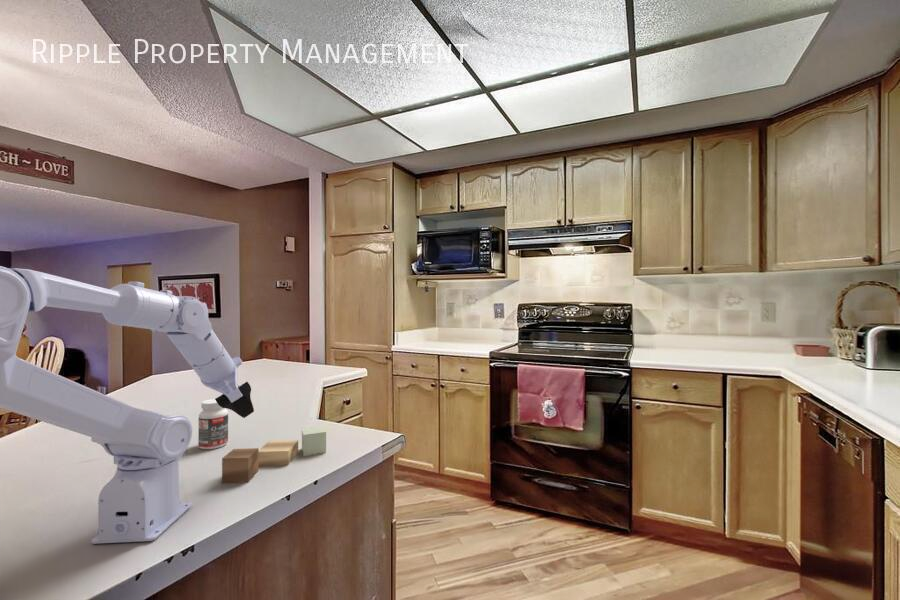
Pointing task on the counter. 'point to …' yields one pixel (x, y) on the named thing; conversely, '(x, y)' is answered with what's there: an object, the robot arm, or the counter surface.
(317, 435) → the sage block
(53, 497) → the counter surface
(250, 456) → the walnut cube
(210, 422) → the pill bottle
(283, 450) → the oak block
